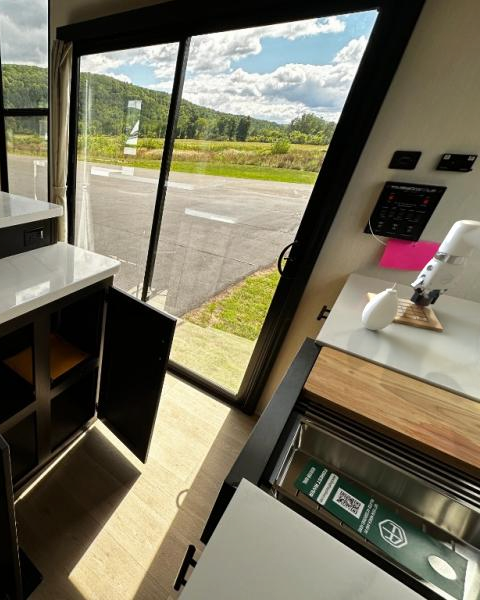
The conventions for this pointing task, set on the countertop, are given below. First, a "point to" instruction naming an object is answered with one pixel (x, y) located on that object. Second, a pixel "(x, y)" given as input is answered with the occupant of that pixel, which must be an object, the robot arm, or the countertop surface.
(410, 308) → the board
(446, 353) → the countertop surface
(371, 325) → the white air blower bulb
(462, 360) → the countertop surface
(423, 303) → the stone
